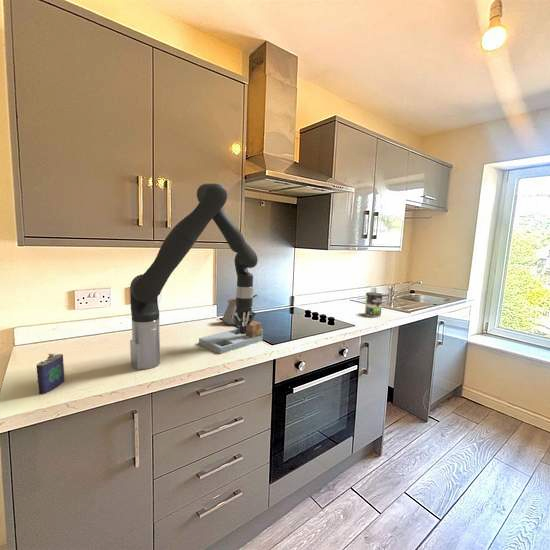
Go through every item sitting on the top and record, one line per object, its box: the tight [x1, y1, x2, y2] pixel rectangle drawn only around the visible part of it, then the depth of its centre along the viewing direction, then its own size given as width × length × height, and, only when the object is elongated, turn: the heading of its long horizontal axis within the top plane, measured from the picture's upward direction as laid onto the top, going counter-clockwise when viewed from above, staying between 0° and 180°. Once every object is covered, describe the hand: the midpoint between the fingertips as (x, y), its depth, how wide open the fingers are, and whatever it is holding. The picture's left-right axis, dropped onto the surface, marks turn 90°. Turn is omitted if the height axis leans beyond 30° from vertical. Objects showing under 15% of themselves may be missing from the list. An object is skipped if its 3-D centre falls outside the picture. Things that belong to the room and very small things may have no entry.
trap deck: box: [198, 325, 264, 355], centre depth 137 cm, size 24×16×6 cm, turn 136°
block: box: [246, 320, 262, 338], centre depth 140 cm, size 5×5×6 cm
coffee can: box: [364, 291, 384, 318], centre depth 195 cm, size 10×10×14 cm
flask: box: [36, 353, 66, 395], centre depth 93 cm, size 9×3×11 cm, turn 178°
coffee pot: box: [222, 294, 259, 326], centre depth 169 cm, size 21×12×15 cm, turn 124°
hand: (242, 333), depth 137 cm, fingers closed
